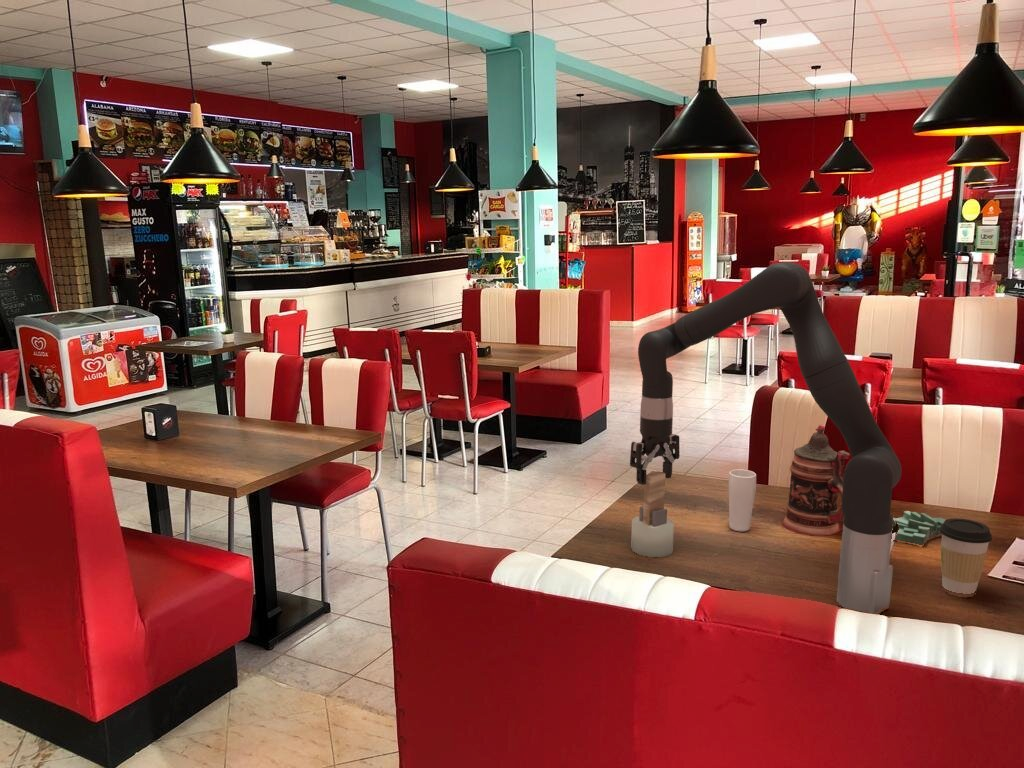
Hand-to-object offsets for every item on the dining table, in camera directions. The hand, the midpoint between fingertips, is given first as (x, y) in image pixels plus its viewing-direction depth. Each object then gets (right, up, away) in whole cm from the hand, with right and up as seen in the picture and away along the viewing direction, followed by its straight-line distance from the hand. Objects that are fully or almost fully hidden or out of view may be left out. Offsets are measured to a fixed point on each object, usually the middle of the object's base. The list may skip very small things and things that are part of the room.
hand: (654, 480), depth 193 cm
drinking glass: (+25, -15, +17) cm, 33 cm away
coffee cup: (+62, -22, -18) cm, 69 cm away
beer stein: (+44, -15, +17) cm, 50 cm away
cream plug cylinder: (0, -17, +4) cm, 17 cm away
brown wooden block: (0, -10, +2) cm, 10 cm away
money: (+69, -15, +15) cm, 72 cm away
